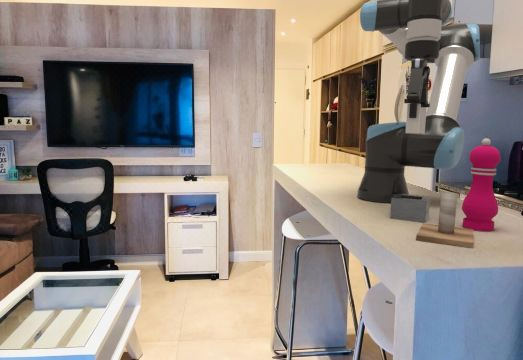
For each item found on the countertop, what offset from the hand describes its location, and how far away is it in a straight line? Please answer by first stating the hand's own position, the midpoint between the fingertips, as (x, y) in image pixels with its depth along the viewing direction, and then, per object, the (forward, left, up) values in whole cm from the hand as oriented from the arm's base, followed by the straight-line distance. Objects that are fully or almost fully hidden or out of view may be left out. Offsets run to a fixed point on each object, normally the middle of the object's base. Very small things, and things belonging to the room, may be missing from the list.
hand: (415, 133), depth 101 cm
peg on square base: (+16, +9, -21) cm, 27 cm away
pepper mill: (+3, +15, -21) cm, 26 cm away
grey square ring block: (0, 0, -21) cm, 21 cm away
